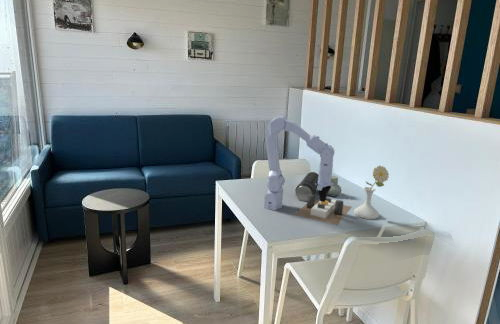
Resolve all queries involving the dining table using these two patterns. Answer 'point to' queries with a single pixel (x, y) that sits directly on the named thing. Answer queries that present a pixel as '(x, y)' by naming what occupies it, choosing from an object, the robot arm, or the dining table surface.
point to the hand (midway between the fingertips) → (322, 201)
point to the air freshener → (334, 187)
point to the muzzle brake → (307, 186)
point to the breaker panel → (330, 217)
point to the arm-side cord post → (310, 201)
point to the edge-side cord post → (338, 207)
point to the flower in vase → (367, 209)
